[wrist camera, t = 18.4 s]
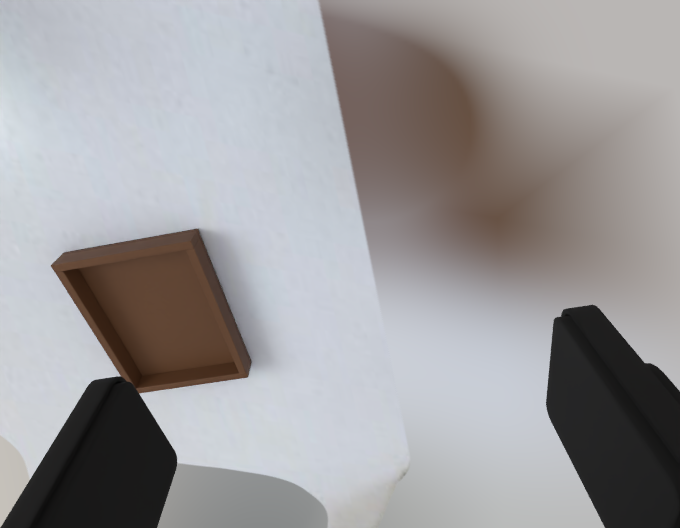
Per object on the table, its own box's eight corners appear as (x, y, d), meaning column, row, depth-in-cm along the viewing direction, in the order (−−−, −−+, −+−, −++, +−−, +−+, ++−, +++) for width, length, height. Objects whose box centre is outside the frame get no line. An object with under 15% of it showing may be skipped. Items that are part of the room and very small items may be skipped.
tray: (63, 252, 43) (50, 265, 41) (197, 228, 41) (190, 240, 39) (140, 378, 52) (132, 394, 50) (251, 362, 51) (248, 377, 49)
